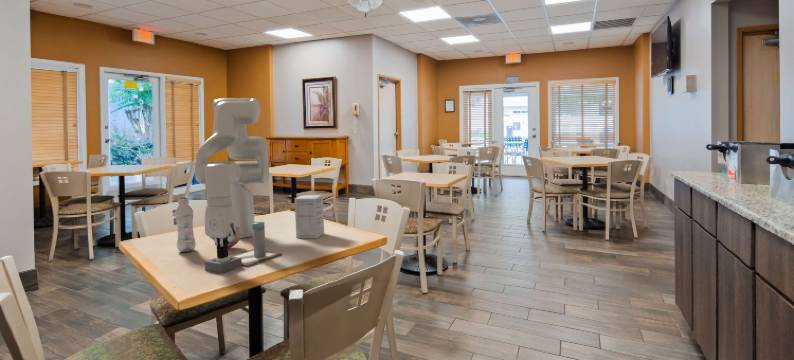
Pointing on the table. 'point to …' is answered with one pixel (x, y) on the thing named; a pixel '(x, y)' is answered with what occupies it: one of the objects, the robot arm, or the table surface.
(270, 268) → the table surface
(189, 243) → the plastic bottle
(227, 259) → the button
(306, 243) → the table surface
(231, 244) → the decorative fruit
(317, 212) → the supplement box
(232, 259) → the button housing
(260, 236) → the marker
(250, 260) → the clipboard
